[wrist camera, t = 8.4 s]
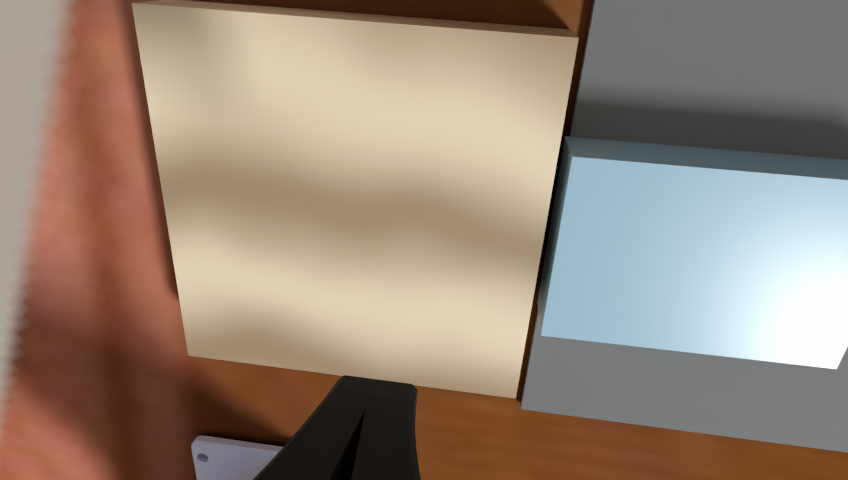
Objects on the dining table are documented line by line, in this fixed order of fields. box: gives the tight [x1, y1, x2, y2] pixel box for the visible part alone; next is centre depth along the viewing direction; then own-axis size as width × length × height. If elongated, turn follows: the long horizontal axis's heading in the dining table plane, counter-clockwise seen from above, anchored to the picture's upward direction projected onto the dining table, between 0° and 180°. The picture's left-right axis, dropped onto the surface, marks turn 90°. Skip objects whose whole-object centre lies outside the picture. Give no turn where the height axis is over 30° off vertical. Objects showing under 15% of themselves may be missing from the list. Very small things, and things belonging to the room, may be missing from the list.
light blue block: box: [537, 136, 848, 369], centre depth 17 cm, size 9×6×2 cm, turn 87°
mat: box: [521, 0, 848, 452], centre depth 18 cm, size 18×14×1 cm
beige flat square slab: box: [132, 0, 579, 398], centre depth 18 cm, size 12×12×2 cm
